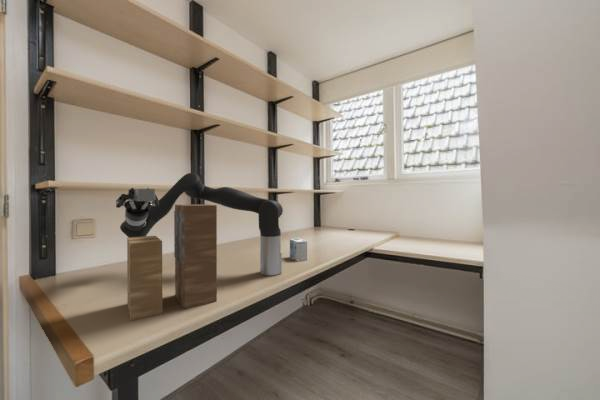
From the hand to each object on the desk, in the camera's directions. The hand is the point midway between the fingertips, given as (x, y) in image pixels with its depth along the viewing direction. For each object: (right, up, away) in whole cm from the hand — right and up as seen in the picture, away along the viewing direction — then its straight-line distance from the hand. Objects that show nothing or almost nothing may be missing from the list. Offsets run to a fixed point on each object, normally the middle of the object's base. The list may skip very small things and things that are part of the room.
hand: (140, 190), depth 88 cm
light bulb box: (+53, -37, +58) cm, 87 cm away
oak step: (+6, -37, -7) cm, 38 cm away
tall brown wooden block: (+18, -37, +1) cm, 41 cm away
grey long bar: (+4, -3, -5) cm, 7 cm away
